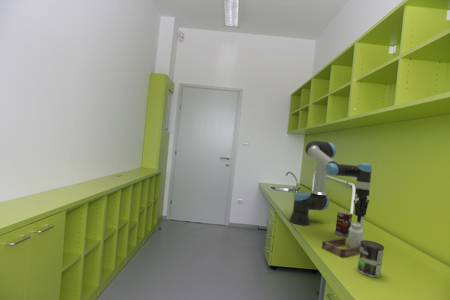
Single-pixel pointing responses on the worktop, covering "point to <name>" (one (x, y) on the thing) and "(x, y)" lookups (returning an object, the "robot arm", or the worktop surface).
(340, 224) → the supplement box
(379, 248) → the coffee can
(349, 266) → the worktop surface
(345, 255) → the frame
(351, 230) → the pill bottle
